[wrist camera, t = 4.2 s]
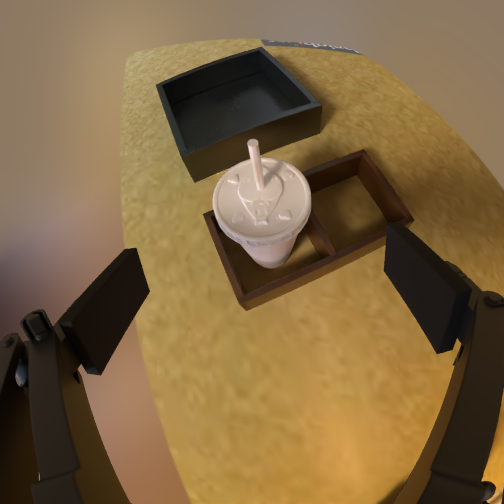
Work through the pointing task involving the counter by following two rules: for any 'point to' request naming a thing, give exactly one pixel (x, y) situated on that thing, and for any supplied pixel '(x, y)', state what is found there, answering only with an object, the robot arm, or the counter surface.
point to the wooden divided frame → (329, 257)
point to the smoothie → (263, 206)
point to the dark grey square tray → (236, 110)
